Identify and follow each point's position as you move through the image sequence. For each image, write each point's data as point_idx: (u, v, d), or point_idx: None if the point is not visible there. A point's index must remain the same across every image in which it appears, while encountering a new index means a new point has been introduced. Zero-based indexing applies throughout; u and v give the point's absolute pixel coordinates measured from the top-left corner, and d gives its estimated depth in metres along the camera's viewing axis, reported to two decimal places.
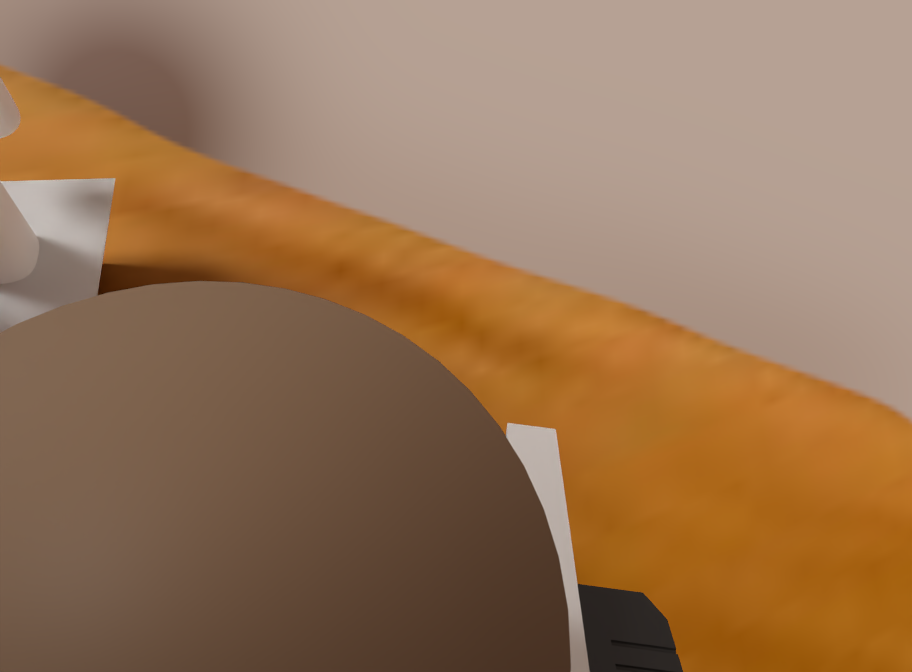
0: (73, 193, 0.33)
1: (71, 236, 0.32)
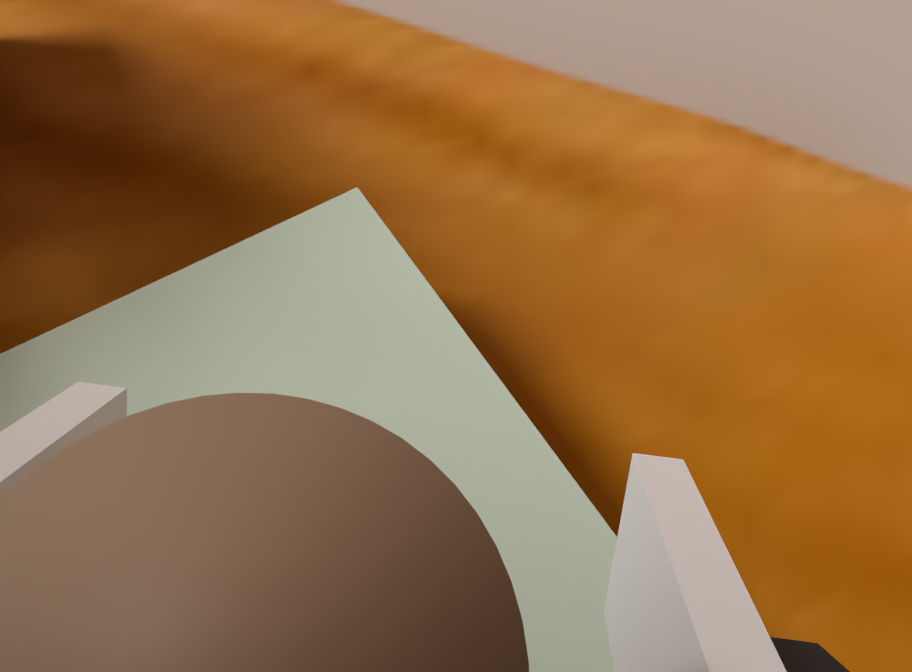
0: None
1: None
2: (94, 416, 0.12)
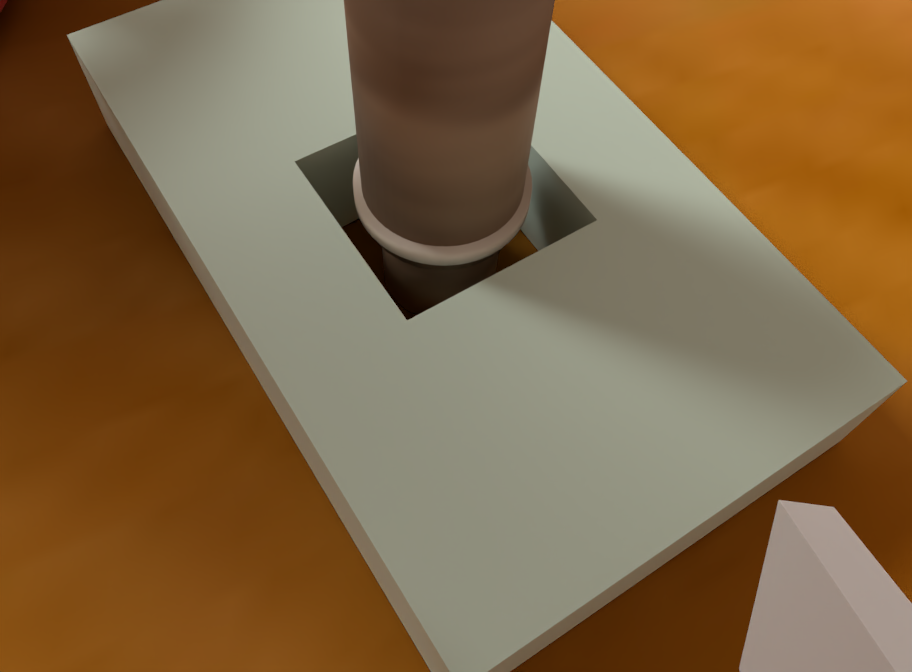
0: None
1: None
2: None
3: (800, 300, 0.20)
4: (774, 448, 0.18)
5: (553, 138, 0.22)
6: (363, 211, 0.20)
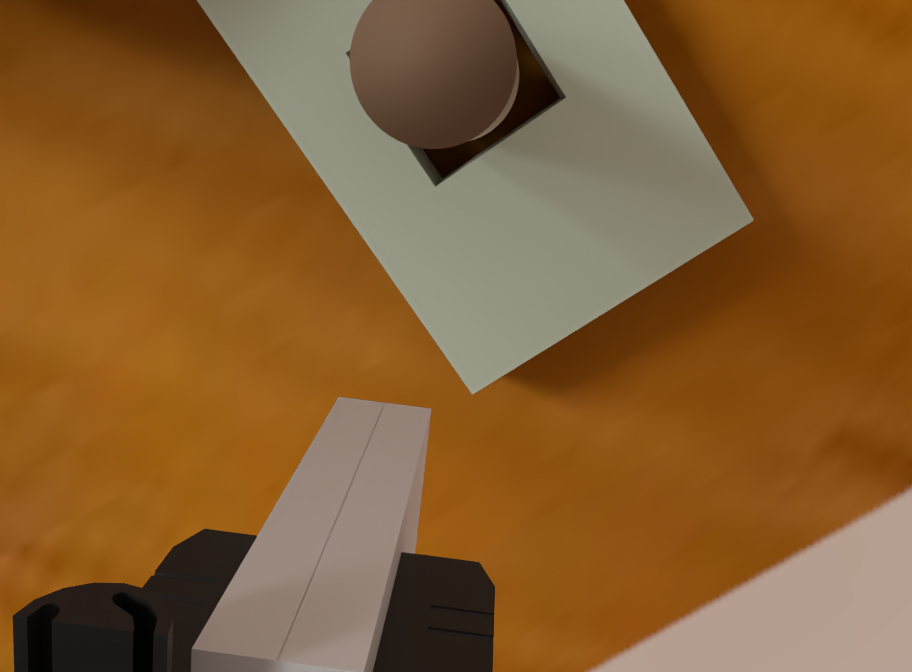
0: None
1: None
2: None
3: (699, 160, 0.30)
4: (656, 267, 0.31)
5: (538, 16, 0.29)
6: None
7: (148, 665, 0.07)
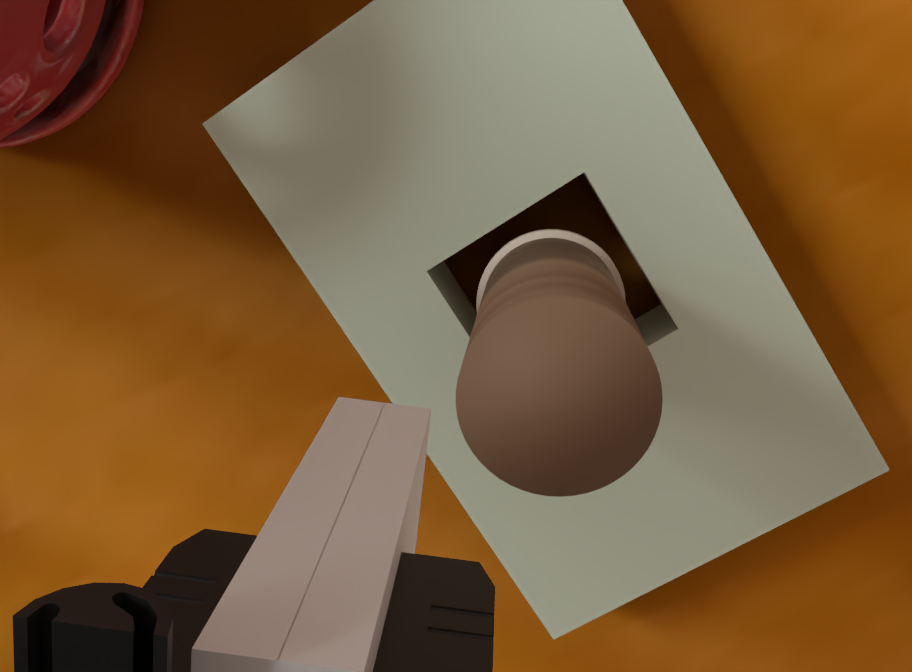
0: None
1: None
2: None
3: (829, 403, 0.26)
4: (773, 515, 0.27)
5: (651, 241, 0.25)
6: None
7: (148, 665, 0.07)
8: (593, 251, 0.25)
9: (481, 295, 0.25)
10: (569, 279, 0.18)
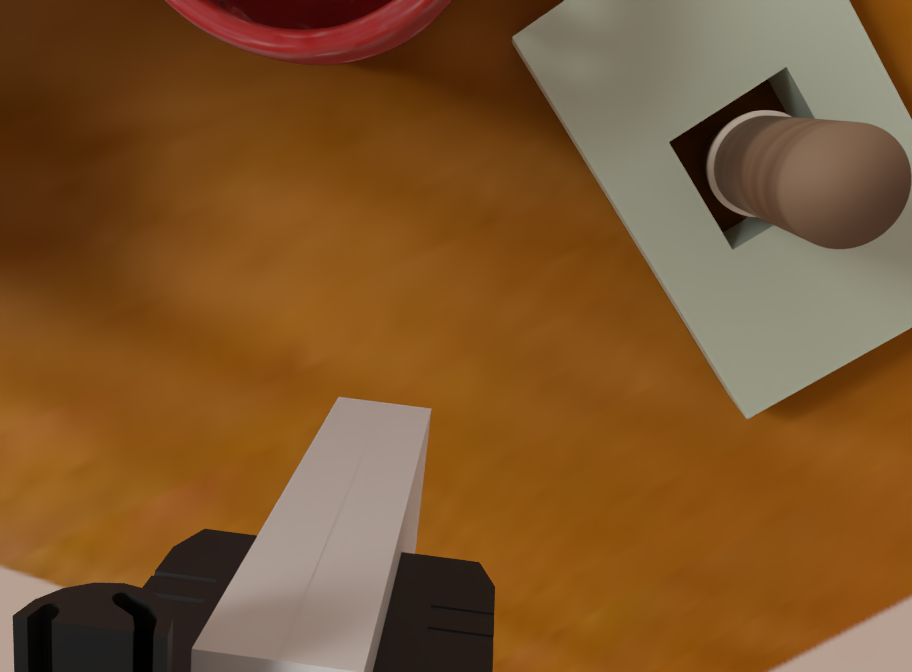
0: None
1: None
2: None
3: None
4: (911, 317, 0.38)
5: (832, 116, 0.36)
6: (715, 189, 0.36)
7: (148, 665, 0.07)
8: None
9: (713, 159, 0.36)
10: None
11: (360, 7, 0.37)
